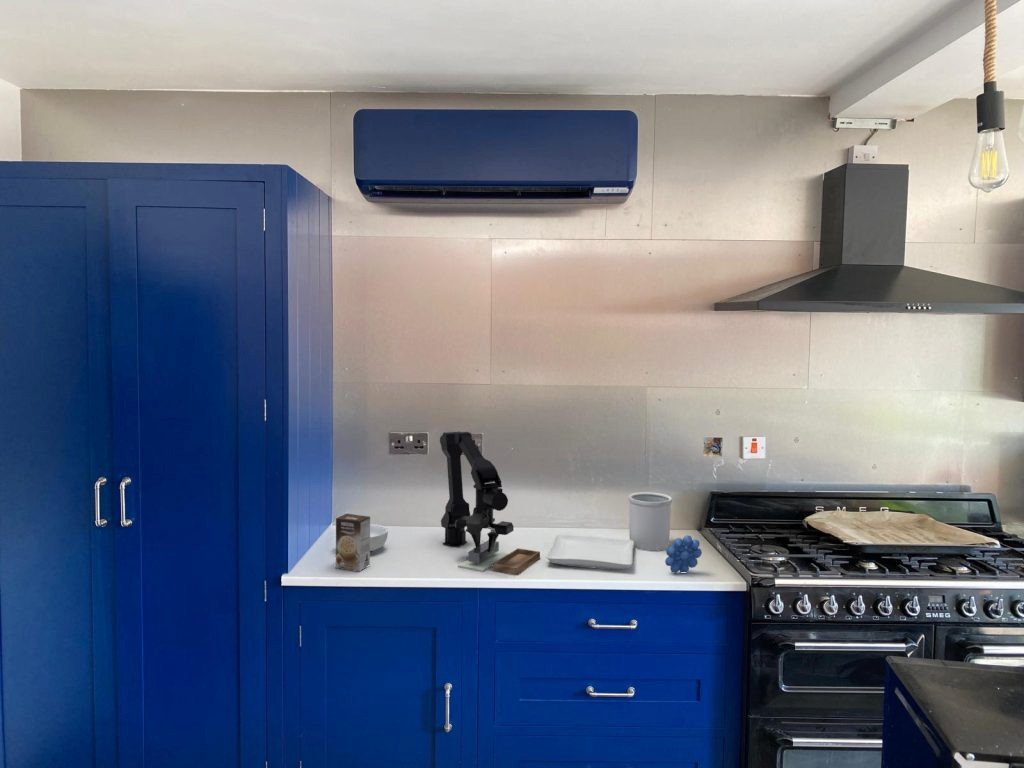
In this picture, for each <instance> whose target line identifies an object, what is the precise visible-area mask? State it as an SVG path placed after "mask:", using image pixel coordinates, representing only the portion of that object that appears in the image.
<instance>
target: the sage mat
mask: <svg viewBox="0 0 1024 768" xmlns="http://www.w3.org/2000/svg"><path fill="white" fill-rule="evenodd" d="M508 554H509V553H506V552H501V551H500V552H499V551H497V552H496V553H494V554H493V555H491V556H490V557H488V558H486V559H485V560H483V561H482V562H480V563H476V562H470V561H468V559H467V560H464V561H463V562H462V563H460V564H458V566H457V567H458V568H459V567H460V568H461V569H465V568H466V570H472V571H476V572H486V571H487V570H489V569H490V568H491V567H493V564H494V563H496V562H497V561H499V560H500V559H502V558H503V557H505V556H506V555H508Z"/></svg>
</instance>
